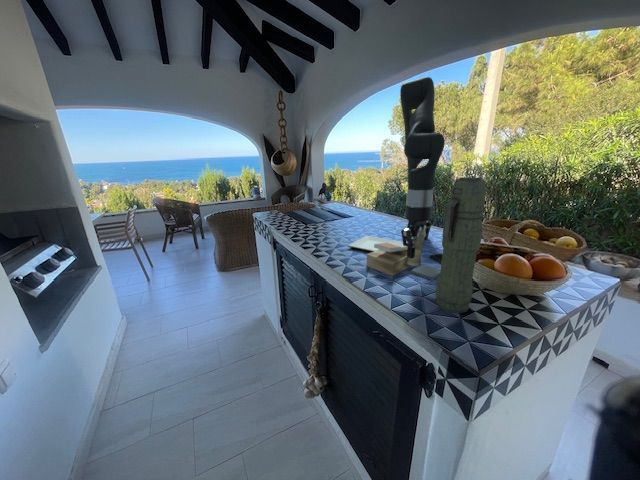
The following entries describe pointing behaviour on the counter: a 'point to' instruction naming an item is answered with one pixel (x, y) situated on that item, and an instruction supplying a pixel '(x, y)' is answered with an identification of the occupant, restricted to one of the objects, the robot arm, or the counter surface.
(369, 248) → the plate
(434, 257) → the phone
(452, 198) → the thermos
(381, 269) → the switch block
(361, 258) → the counter surface
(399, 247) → the white flat slab
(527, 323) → the counter surface
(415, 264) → the dowel
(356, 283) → the counter surface
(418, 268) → the slate pad
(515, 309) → the counter surface
